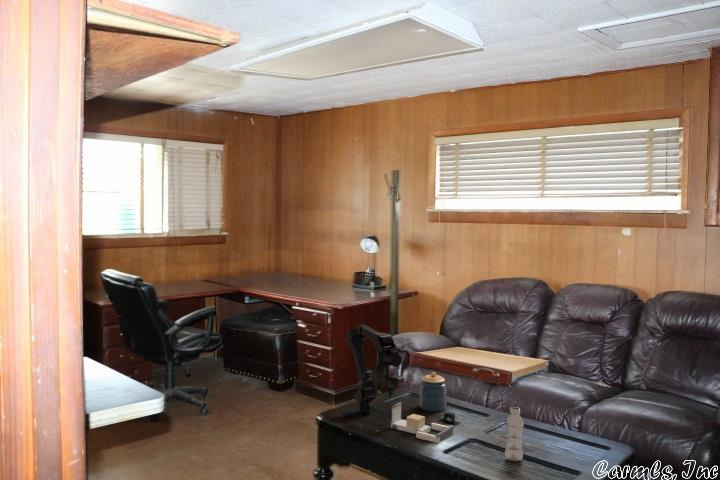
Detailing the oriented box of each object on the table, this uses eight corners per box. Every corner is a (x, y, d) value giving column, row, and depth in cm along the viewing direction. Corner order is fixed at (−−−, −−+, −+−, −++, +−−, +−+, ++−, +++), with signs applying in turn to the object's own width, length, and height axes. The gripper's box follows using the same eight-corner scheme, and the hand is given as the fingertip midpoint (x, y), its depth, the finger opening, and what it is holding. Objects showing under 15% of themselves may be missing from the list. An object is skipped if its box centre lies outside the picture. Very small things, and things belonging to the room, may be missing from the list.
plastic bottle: (502, 456, 233) (503, 406, 232) (519, 456, 233) (520, 405, 233) (508, 463, 226) (509, 411, 226) (525, 463, 227) (526, 411, 226)
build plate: (465, 424, 272) (465, 414, 271) (457, 428, 266) (457, 418, 266) (441, 418, 279) (441, 408, 279) (433, 422, 274) (433, 412, 274)
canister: (415, 404, 298) (416, 369, 297) (440, 402, 301) (440, 368, 300) (424, 412, 285) (425, 376, 285) (450, 411, 288) (450, 374, 288)
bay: (416, 437, 252) (416, 430, 252) (432, 428, 264) (432, 420, 264) (438, 443, 246) (438, 435, 246) (454, 433, 258) (454, 425, 258)
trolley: (389, 428, 263) (390, 406, 263) (400, 423, 270) (400, 401, 270) (421, 436, 254) (421, 413, 254) (431, 430, 261) (431, 408, 261)
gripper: (356, 362, 269) (355, 396, 269) (391, 368, 258) (391, 404, 259) (370, 357, 278) (369, 390, 278) (404, 363, 267) (404, 398, 268)
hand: (382, 396), depth 271 cm, fingers open, 7 cm apart
